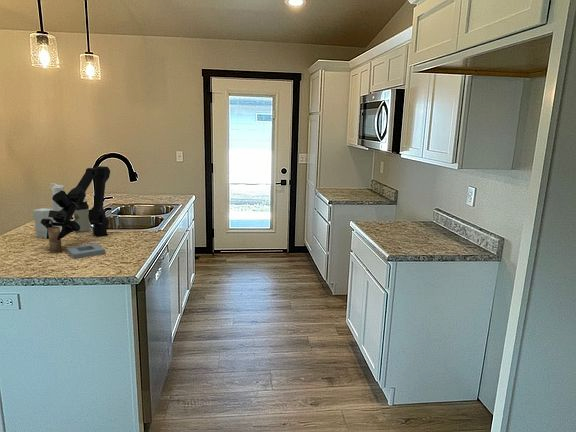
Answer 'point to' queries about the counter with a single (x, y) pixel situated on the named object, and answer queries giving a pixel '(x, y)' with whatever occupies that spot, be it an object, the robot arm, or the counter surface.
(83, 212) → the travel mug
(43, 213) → the skincare box
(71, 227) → the robot arm
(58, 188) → the skyscraper
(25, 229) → the counter surface
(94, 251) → the frame
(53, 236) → the walnut peg
